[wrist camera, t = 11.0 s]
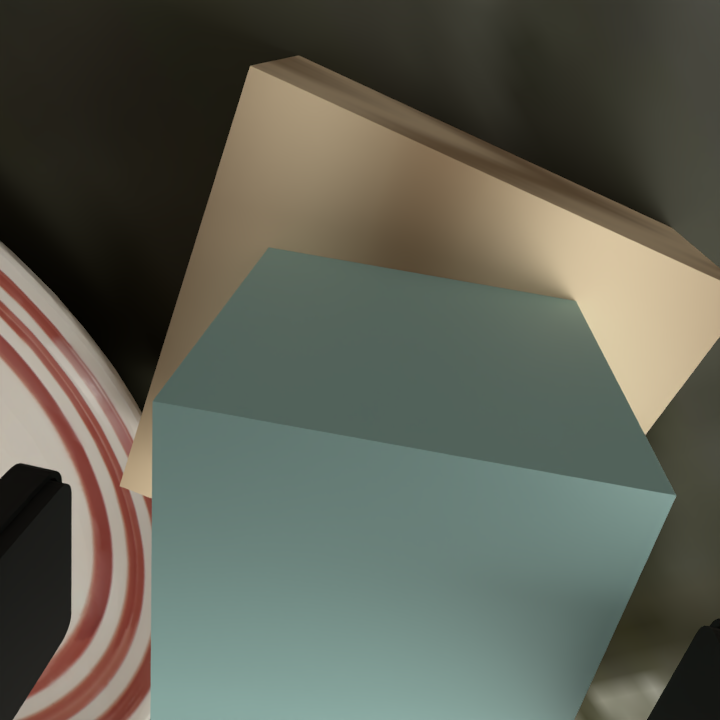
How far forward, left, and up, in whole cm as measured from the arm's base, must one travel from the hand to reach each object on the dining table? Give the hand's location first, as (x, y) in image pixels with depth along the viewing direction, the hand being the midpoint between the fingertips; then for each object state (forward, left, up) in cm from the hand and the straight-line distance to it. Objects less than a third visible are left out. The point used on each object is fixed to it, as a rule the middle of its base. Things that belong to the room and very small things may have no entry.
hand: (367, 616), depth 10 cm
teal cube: (0, -1, -5) cm, 5 cm away
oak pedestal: (0, -1, -10) cm, 10 cm away
